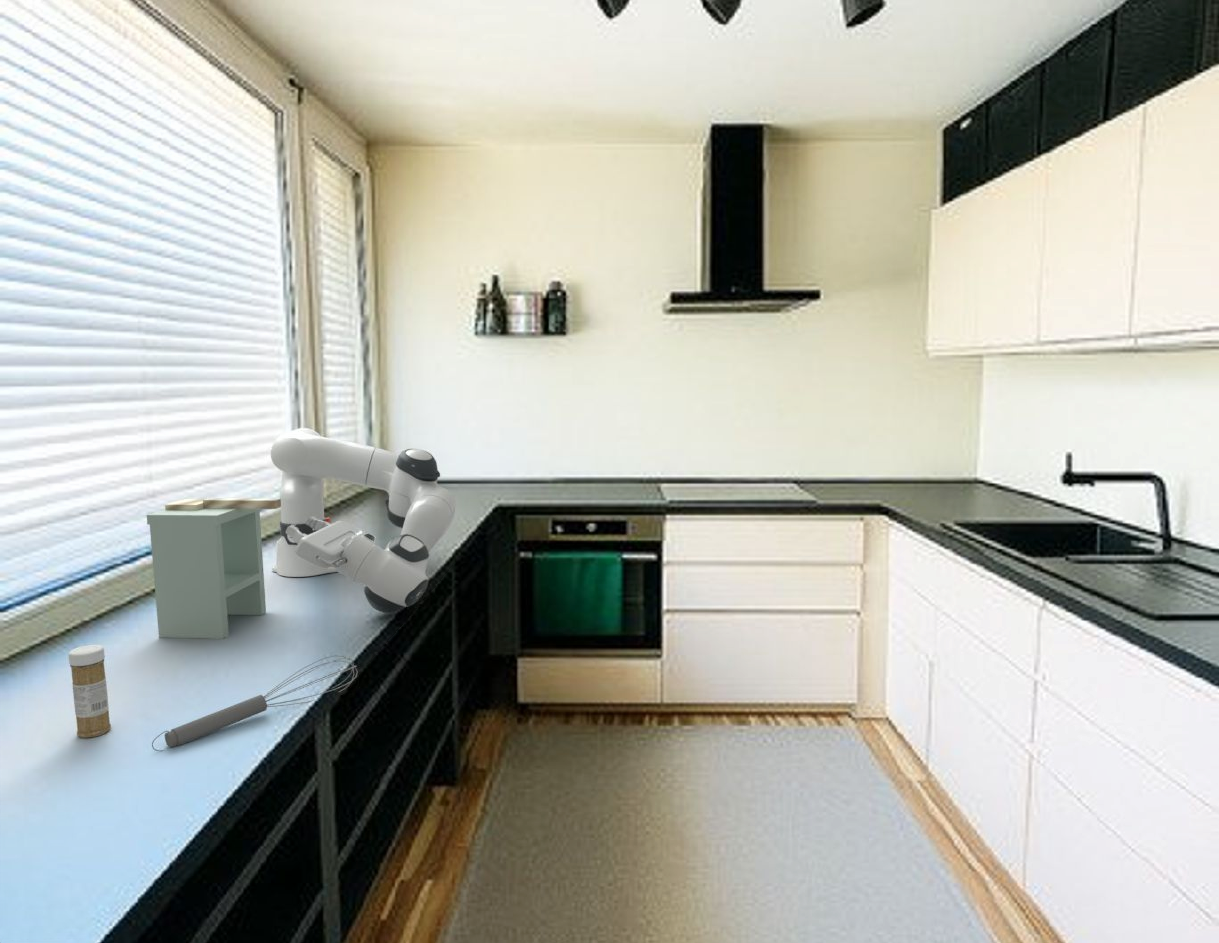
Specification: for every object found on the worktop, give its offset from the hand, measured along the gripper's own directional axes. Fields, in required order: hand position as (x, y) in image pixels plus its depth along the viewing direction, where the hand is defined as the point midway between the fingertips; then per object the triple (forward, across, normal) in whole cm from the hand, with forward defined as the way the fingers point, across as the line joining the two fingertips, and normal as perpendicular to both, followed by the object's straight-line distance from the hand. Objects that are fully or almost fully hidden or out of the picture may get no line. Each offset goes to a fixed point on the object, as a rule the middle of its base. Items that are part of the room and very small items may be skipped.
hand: (298, 524), depth 173 cm
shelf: (+6, 0, -30) cm, 31 cm away
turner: (+16, +1, -5) cm, 16 cm away
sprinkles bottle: (-3, -51, -25) cm, 57 cm away
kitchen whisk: (-24, -43, -13) cm, 51 cm away
